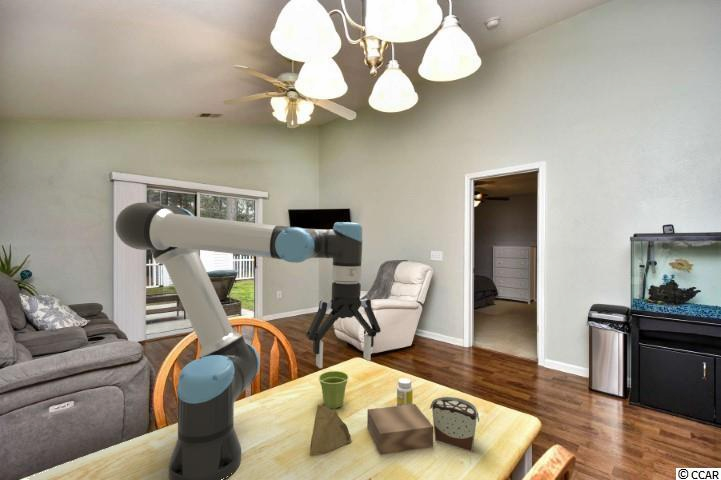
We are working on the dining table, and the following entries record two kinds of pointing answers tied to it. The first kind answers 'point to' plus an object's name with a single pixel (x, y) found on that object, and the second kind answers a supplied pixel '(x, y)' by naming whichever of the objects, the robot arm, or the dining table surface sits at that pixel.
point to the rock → (328, 431)
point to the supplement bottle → (404, 392)
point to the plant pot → (333, 388)
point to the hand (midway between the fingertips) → (343, 362)
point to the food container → (454, 422)
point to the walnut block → (399, 428)
